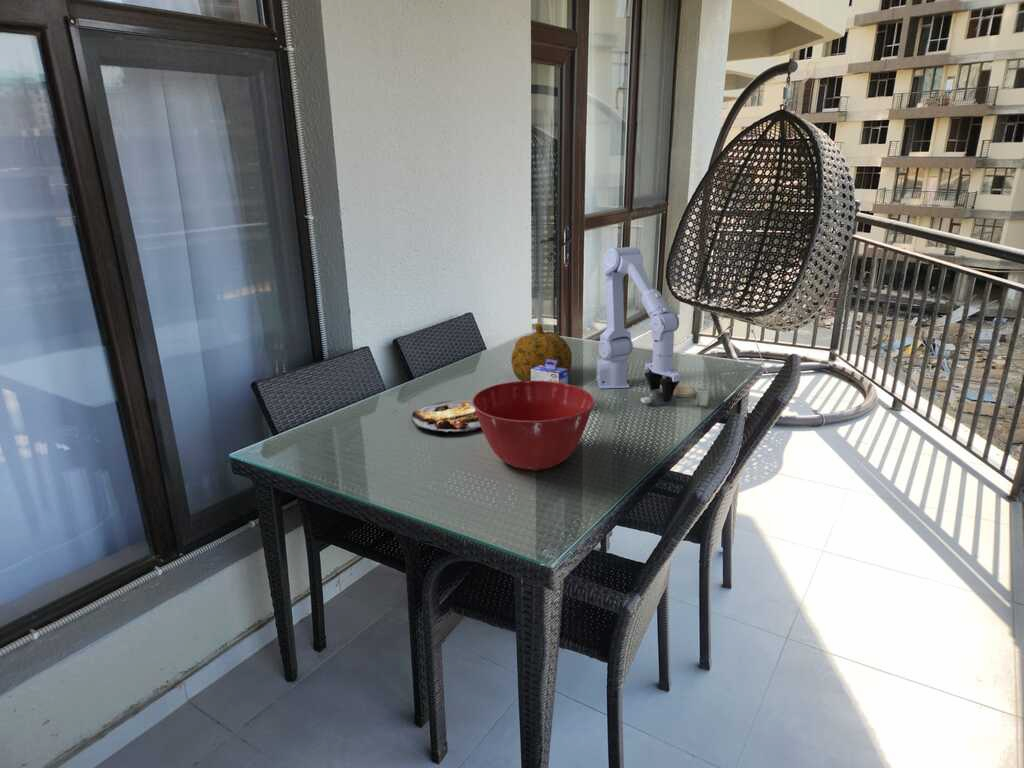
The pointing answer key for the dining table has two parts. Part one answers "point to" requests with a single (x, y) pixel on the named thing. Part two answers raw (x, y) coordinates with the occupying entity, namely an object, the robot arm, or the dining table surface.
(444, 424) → the food plate
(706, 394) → the offwhite plug
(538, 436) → the mixing bowl
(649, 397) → the charcoal plug
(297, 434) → the dining table surface
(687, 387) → the cork pad
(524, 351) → the decorative pumpkin
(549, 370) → the ink cartridge box
